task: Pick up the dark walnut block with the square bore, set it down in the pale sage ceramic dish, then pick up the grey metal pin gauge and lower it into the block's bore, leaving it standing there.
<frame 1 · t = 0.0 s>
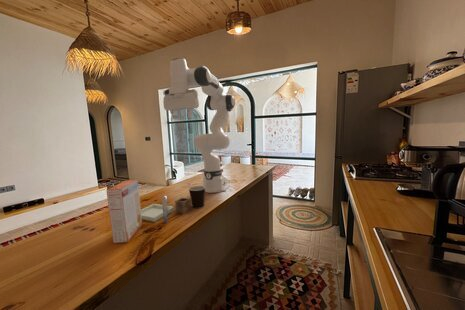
hand: (181, 118, 105), 48 cm above the counter, fingers open, 8 cm apart
coffee mug: (199, 205, 111), on the counter
pin gauge: (166, 221, 91), on the counter
walnut block: (183, 211, 103), on the counter
sage dish: (154, 214, 100), on the counter
cracker box: (128, 234, 81), on the counter
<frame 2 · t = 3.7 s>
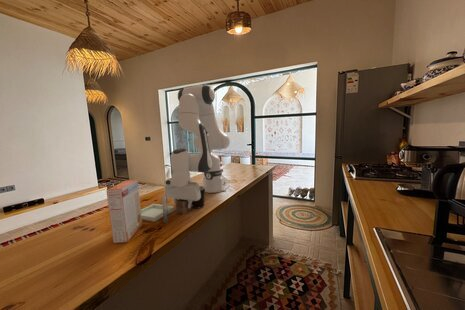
hand: (183, 207, 102), 2 cm above the counter, fingers closed on walnut block, 5 cm apart
walnut block: (183, 211, 103), on the counter, touching gripper
everything else where it was.
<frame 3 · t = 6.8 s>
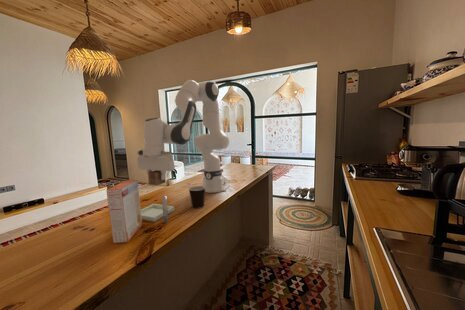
hand: (156, 179, 98), 18 cm above the counter, fingers closed on walnut block, 5 cm apart
walnut block: (157, 183, 98), point 16 cm above the counter, touching gripper
everything else where it was.
when the fingers open (3 cm above the counter, at t = 10.2 s): walnut block stays where it is, resting on sage dish.
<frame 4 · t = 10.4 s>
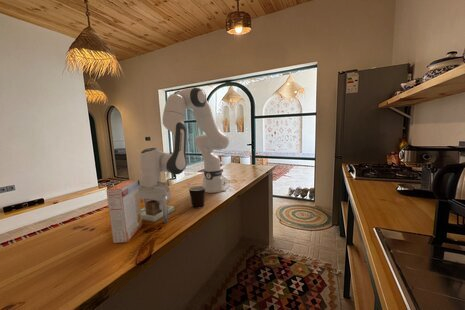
hand: (153, 207, 100), 3 cm above the counter, fingers open, 7 cm apart
walnut block: (154, 212, 100), point 1 cm above the counter, touching sage dish
everything else where it was.
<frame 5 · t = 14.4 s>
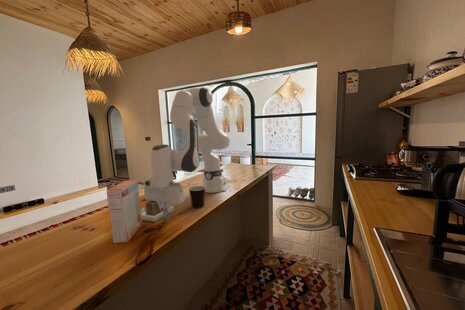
hand: (165, 211, 90), 5 cm above the counter, fingers closed on pin gauge, 2 cm apart
pin gauge: (166, 221, 91), on the counter, touching gripper
everything else where it was.
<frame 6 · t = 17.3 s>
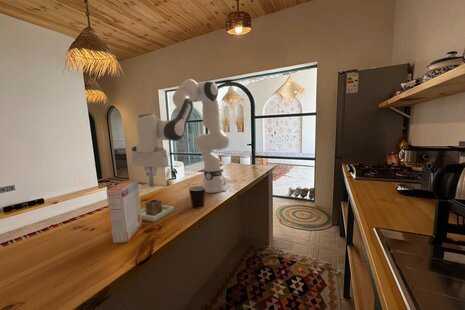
hand: (151, 175, 98), 20 cm above the counter, fingers closed on pin gauge
pin gauge: (151, 186, 98), point 14 cm above the counter, touching gripper
everything else where it was.
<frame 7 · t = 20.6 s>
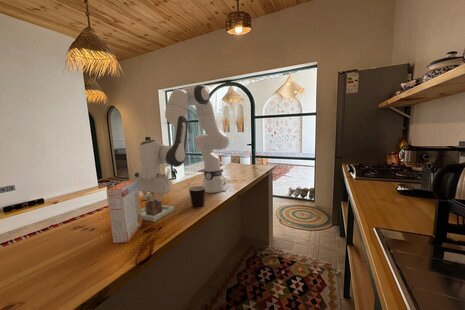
hand: (153, 200, 99), 7 cm above the counter, fingers open, 6 cm apart
pin gauge: (154, 212, 100), point 1 cm above the counter, touching sage dish
everything else where it was.
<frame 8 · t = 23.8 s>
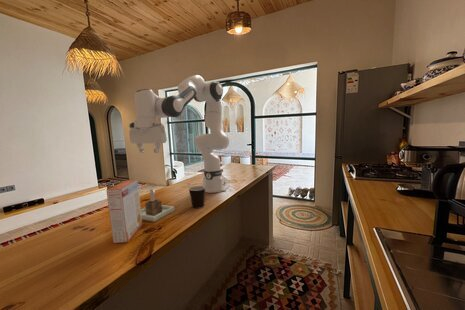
hand: (149, 152, 96), 31 cm above the counter, fingers open, 8 cm apart
nothing on the counter moved.
at the end: walnut block inside the target area on the sage dish (0.0 cm from its centre), point 0.6 cm above the sage dish's base; pin gauge 0.1 cm off-centre on the walnut block, point 0.0 cm above the walnut block's base; pin gauge tilted 1° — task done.
